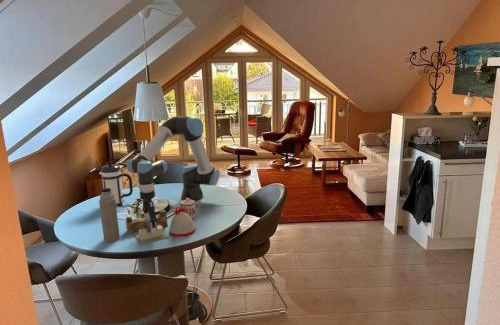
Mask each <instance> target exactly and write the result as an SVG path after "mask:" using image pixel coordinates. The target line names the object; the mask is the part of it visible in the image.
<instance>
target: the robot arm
mask: <svg viewBox="0 0 500 325" xmlns="http://www.w3.org/2000/svg"><path fill="white" fill-rule="evenodd" d="M203 133H204V123H203V121H202V119H201V118H200V117H197V116H178V115H177V116H173V117H171V118H168V119H167V120H165V121H164V122H163V123H162V124H161V125H160V126H159V128H158V130H157V132H156V134H155V135H154V136H153V137H152V138H151V140H150V141H149V142H148V143H147V144H146V146H145V147H144V148H143V149H142V150H141V152H140V153H139V154H138V155H137V157H136V158H132V159H129V160H128V161H127V162H126V169H127V171H128V173H131V174H137V177H138V186H137V188H139V196H140V199H141V200H142V212H143V217H144V219H145V220H148V218H150V221H149V223H150V226H151V234H153V233H157V230H156V221H157V220H156V215H157V214H156V211H155V203H154V202H153V201H152V200H153V199H155V197H156V193H155V192H156V190H155V182H154V178H155V177H157V176H160V175H162V174H165V173H166V172H167V170H168V168H169V167H168V163H167V161H165V160H164V159H158V160H154V158H155V157H156V155H157V154H158V153H159V152H160V151H161V149H162V148H163V147H164V146H165V145H166V143H167V142H168V140H172V138H173V137H174V136H183V139H184V141H185V142H187V143H188V145H189V148H190V150H191V153H192V155H193V158H194V160H195V163H194V164H189V165H185V166H183V167H182V169H181V171H182V172H181V174H182V184H183V186H182V187H183V188H182V191H181V199H182V201H184V200H186V198H189V199H191V200H194V201H198V200H202V198H204V193H203V190H202V188H201V185H204V186H216V185H217V184H218V183H219V179H220V170H219V169H218V168H217V167H216V168H215V166H214V164H213V163H211V161H210V159H209V156H208V154H207V150H206V148H205V147H206V146H205V145H204V142H203V139H202V135H203Z"/></svg>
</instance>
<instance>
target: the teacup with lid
mask: <svg viewBox="0 0 500 325" xmlns="http://www.w3.org/2000/svg"><path fill="white" fill-rule="evenodd" d="M196 205H197V206H198V207H197V209H196ZM181 206H182V207H183V208H184V207H185V211H186V209H188V210H187V214H189V216H190V217H191V218H192V219H193V218H196V214H197V213H196V212H197V211H199V210H200V207H201V205H200V203H198V202H196V200H191V199H189V198H186V200H181V201H180V207H181Z"/></svg>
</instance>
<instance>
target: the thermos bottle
mask: <svg viewBox="0 0 500 325" xmlns="http://www.w3.org/2000/svg"><path fill="white" fill-rule="evenodd" d="M100 192H101V194H100V195H99V200H98V203H99V210H100V219H101V226H102V234H103V235H102V236H103V241H104V242H106V243H112V242H116V241H119V239H120V238H121V236H120V228H119V219H118V211H117V204H116V201H115V198H114V195H113V194H112V193H111V189H110V188H105V189H103V188H102V189H100Z"/></svg>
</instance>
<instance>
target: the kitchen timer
mask: <svg viewBox="0 0 500 325" xmlns="http://www.w3.org/2000/svg"><path fill="white" fill-rule="evenodd" d="M187 210H188V209H186V211H185V207H184V208H183V207H182V206H181V205H180V206H178V208H177V207H175V210H174V209H173V213H174V216H173V217H172V218H171V221H170V224H169V236H172V237H175V238H183V237H189V236H191V235H193V234H194V233H195V232H196V225H195V223H194V220H193V218H191V217H190V216H189V214H187Z"/></svg>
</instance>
